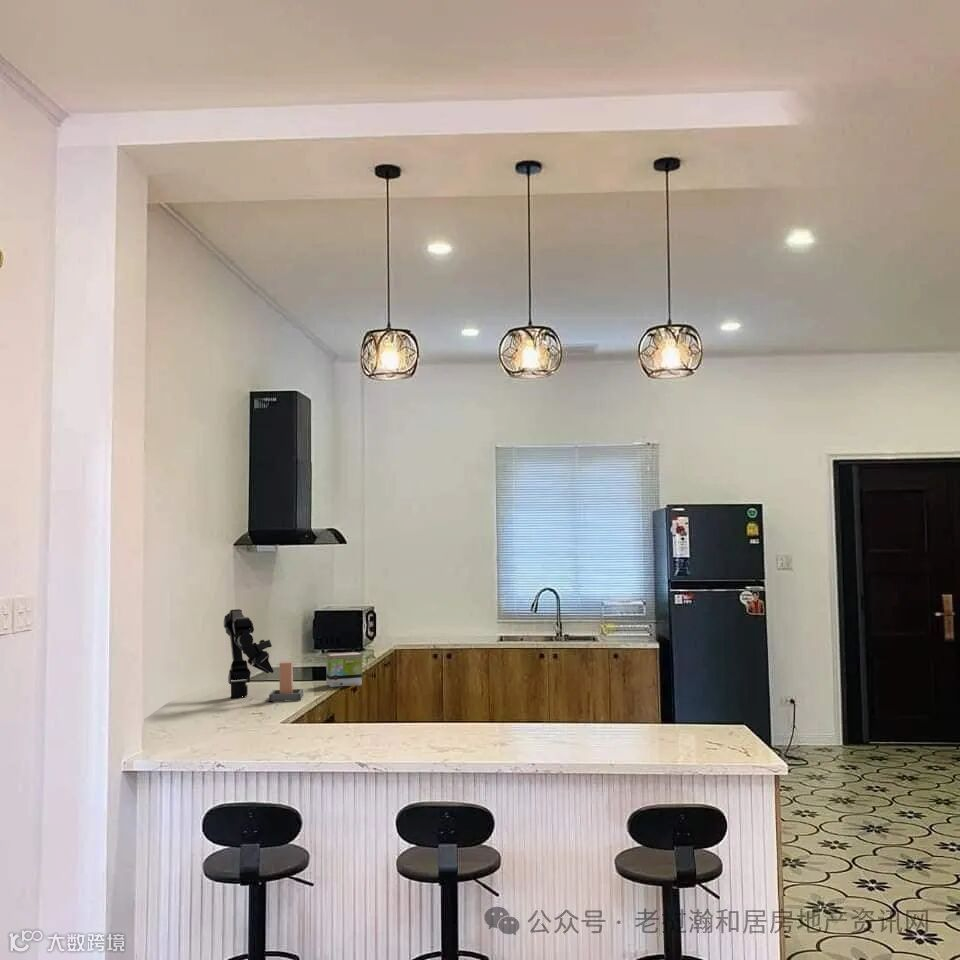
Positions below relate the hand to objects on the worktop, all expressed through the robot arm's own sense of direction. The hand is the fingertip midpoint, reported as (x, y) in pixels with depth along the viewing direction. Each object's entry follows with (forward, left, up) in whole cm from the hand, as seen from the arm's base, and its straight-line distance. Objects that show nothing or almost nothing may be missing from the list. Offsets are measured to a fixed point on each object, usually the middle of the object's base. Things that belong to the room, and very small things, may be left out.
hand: (270, 672), depth 382 cm
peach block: (+7, -2, -11) cm, 13 cm away
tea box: (+30, +31, -12) cm, 45 cm away
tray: (+7, -2, -11) cm, 13 cm away
